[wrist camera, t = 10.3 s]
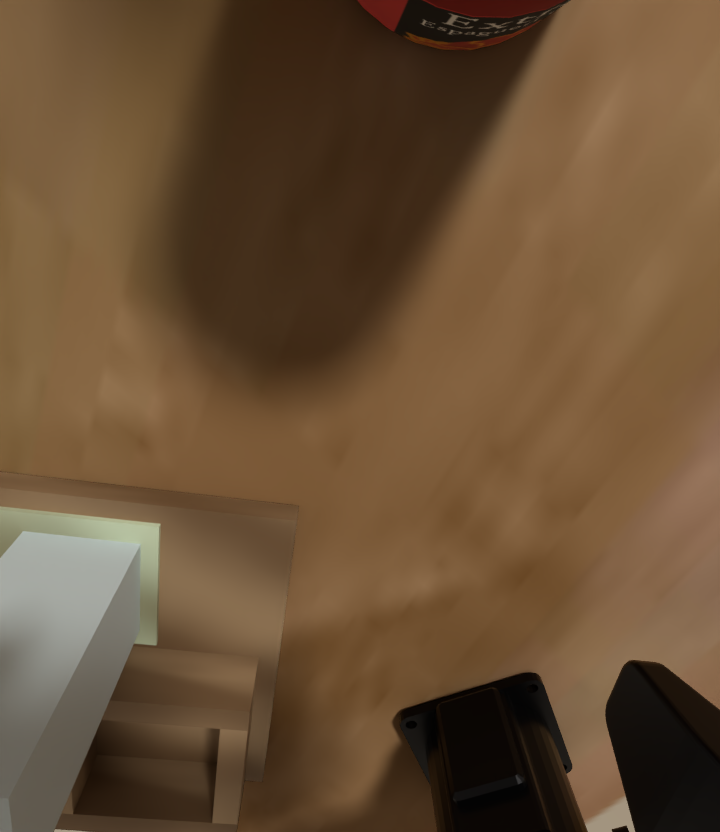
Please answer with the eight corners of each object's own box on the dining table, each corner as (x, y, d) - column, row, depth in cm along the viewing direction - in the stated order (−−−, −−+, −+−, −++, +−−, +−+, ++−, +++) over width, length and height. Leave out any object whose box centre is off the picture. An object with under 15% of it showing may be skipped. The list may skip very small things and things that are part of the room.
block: (139, 630, 22) (21, 907, 14) (30, 619, 22) (-157, 897, 14) (140, 543, 21) (8, 798, 12) (23, 531, 20) (-194, 784, 12)
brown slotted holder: (264, 760, 27) (255, 841, 24) (18, 742, 26) (-26, 824, 23) (299, 506, 22) (291, 565, 18) (-12, 470, 21) (-76, 527, 17)
